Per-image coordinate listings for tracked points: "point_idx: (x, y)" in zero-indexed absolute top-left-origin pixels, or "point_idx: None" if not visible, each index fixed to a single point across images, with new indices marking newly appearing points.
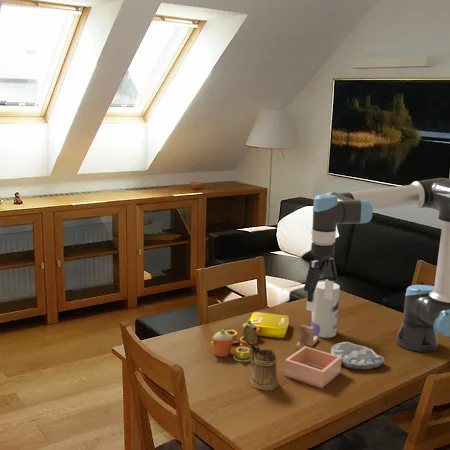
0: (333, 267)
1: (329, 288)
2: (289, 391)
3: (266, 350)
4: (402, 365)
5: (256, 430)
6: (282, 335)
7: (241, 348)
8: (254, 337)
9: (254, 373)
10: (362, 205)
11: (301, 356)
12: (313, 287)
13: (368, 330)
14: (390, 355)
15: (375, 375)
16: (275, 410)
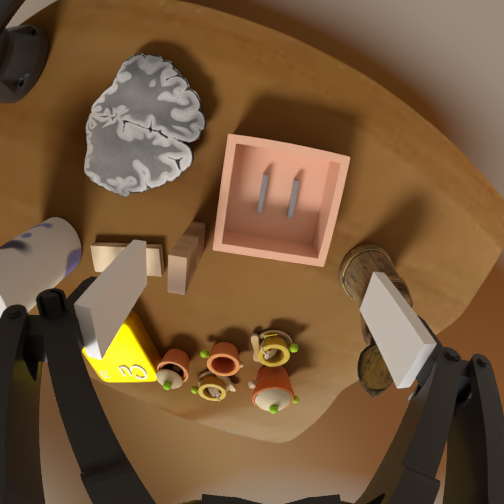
0: (10, 402)
1: (119, 294)
2: (373, 216)
3: None
4: (116, 34)
5: (486, 227)
6: (132, 314)
7: (266, 359)
8: (372, 359)
9: None
10: None
11: (247, 241)
12: (456, 376)
13: (7, 168)
14: (80, 74)
15: (197, 59)
16: (441, 219)
